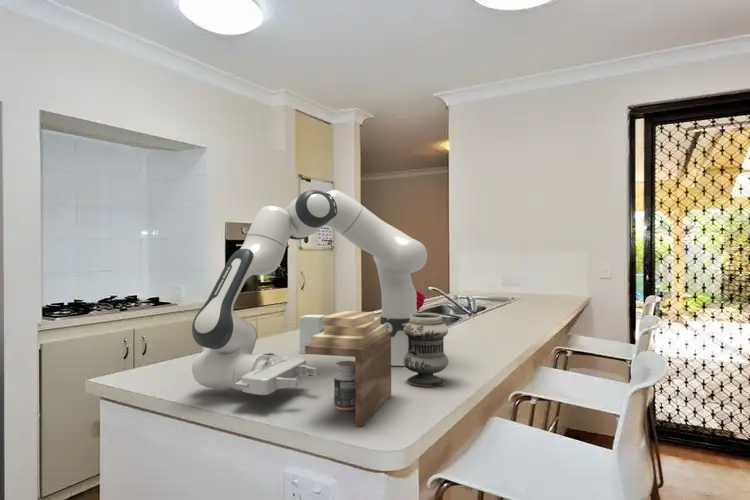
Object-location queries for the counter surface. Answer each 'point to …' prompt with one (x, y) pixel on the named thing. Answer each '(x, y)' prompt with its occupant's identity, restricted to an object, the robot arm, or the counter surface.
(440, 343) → the apothecary jar
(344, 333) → the offcut stack
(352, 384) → the pill bottle
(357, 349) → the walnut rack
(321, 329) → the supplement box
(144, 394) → the counter surface
